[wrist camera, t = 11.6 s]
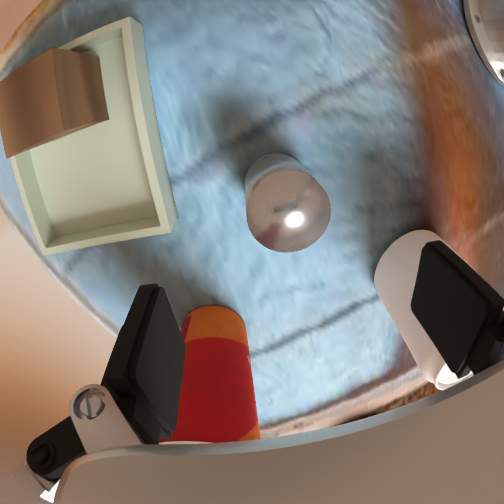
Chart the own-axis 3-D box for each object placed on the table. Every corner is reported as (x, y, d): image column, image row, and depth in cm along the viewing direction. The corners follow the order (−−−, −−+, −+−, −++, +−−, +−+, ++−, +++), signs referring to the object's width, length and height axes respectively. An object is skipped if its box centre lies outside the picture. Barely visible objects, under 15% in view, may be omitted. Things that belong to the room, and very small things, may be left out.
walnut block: (99, 56, 14) (52, 47, 9) (109, 119, 17) (63, 130, 11) (46, 81, 14) (-6, 85, 9) (56, 139, 17) (6, 158, 11)
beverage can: (355, 269, 24) (413, 378, 14) (421, 208, 21) (513, 289, 11) (394, 311, 27) (444, 402, 17) (450, 261, 24) (518, 339, 14)
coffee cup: (210, 364, 30) (203, 494, 17) (154, 320, 26) (118, 466, 13) (275, 332, 27) (295, 480, 14) (221, 278, 24) (211, 454, 11)
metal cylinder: (304, 149, 19) (329, 169, 14) (308, 208, 21) (330, 246, 16) (240, 157, 19) (240, 179, 14) (249, 216, 21) (252, 257, 16)
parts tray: (142, 25, 14) (129, 16, 11) (178, 217, 21) (171, 232, 19) (17, 84, 14) (-2, 86, 12) (57, 241, 21) (43, 255, 19)
